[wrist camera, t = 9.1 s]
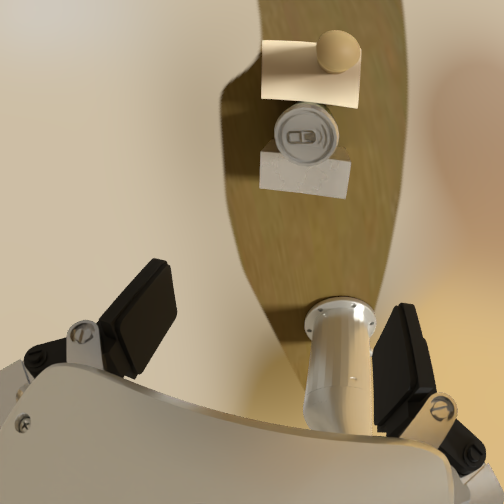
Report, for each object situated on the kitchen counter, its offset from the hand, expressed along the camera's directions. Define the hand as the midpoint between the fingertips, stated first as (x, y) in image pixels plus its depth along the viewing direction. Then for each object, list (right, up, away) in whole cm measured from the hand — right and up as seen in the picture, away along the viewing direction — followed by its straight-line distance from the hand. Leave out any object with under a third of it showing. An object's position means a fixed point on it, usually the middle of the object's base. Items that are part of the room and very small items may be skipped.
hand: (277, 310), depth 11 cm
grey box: (+6, +14, +22) cm, 27 cm away
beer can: (+6, +18, +19) cm, 27 cm away
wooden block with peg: (+6, +22, +16) cm, 28 cm away
